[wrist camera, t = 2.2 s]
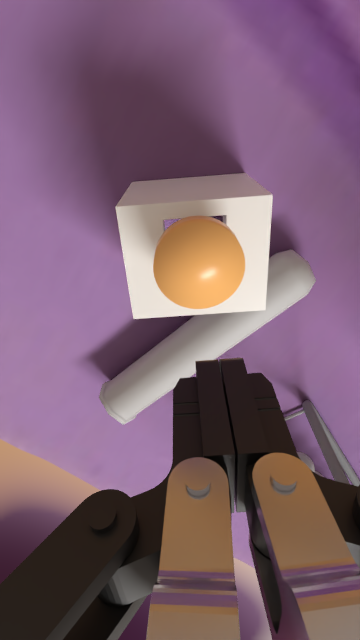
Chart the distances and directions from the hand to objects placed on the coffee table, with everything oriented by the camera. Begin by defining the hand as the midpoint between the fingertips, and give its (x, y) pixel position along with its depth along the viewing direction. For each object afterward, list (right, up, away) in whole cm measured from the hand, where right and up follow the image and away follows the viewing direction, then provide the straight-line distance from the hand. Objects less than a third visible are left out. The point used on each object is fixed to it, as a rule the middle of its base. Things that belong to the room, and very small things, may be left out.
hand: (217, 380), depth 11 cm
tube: (+1, +1, +26) cm, 26 cm away
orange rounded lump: (0, +7, +11) cm, 13 cm away
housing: (0, +11, +20) cm, 23 cm away
